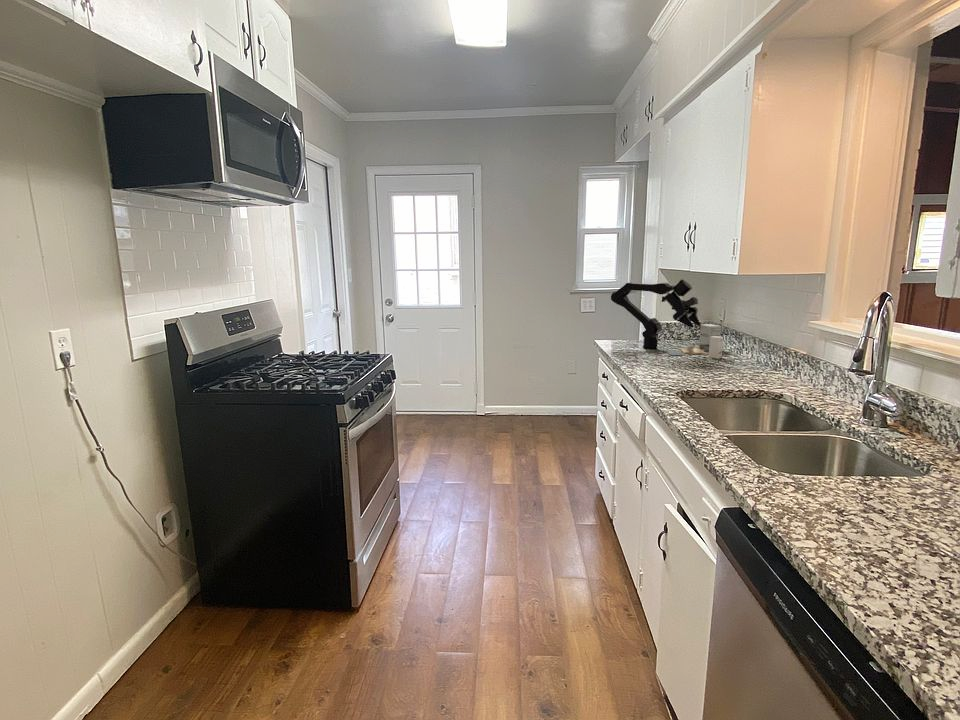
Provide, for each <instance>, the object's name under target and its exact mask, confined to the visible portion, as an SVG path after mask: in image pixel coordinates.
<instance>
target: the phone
mask: <svg viewBox="0 0 960 720" xmlns="http://www.w3.org/2000/svg"><path fill="white" fill-rule="evenodd" d="M665 352H666V354H667V355H668V356H669V357H670V356H671V357H684V354H683V353H682V352H681V351H680V350H668V349H667V350H665Z"/></svg>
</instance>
